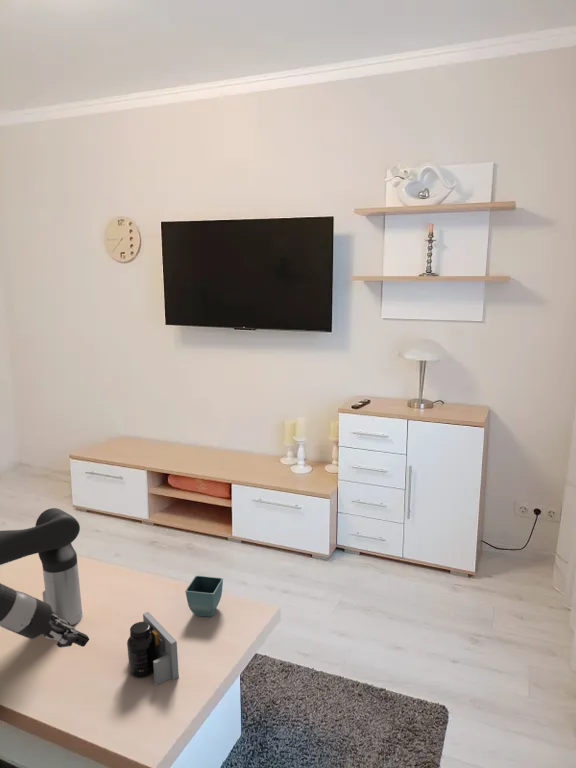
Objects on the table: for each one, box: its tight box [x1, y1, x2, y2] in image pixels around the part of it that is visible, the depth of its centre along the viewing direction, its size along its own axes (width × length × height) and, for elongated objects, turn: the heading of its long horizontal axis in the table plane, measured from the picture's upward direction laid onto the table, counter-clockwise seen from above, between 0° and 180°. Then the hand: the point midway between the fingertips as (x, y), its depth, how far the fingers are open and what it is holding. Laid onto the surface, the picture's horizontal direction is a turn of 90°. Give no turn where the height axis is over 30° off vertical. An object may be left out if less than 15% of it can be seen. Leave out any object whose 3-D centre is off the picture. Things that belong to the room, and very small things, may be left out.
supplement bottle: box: [126, 621, 157, 679], centre depth 142 cm, size 7×7×12 cm
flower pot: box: [185, 575, 224, 618], centre depth 166 cm, size 9×9×9 cm
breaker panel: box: [142, 611, 180, 686], centre depth 144 cm, size 6×16×10 cm, turn 38°
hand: (85, 641), depth 131 cm, fingers closed
